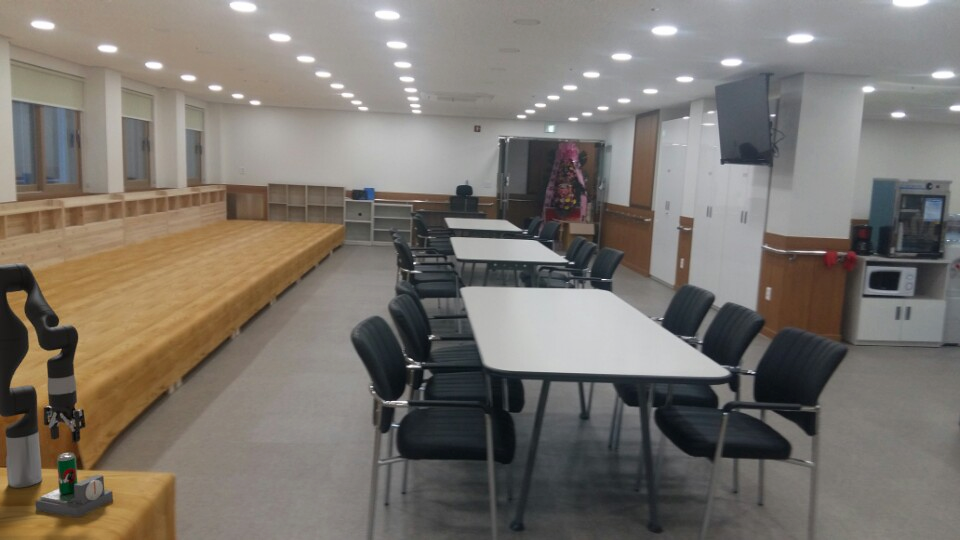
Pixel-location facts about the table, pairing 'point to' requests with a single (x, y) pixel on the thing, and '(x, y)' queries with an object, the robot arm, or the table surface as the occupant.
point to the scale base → (80, 498)
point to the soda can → (67, 473)
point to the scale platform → (59, 497)
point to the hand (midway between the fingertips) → (65, 440)
